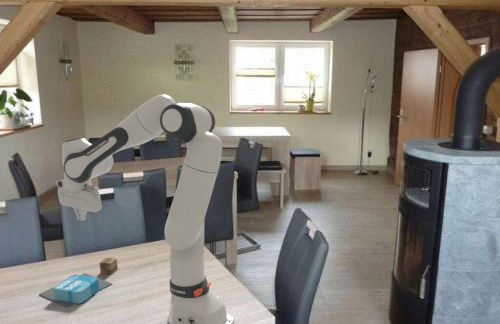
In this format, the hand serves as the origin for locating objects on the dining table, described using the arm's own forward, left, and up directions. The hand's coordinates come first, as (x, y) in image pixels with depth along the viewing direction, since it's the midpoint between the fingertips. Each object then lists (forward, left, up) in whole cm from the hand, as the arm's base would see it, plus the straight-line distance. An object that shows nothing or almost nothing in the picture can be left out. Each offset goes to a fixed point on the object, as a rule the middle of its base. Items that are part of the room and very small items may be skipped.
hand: (81, 219), depth 153 cm
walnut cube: (+8, -16, -29) cm, 34 cm away
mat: (+6, +1, -29) cm, 30 cm away
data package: (-4, +1, -26) cm, 27 cm away
